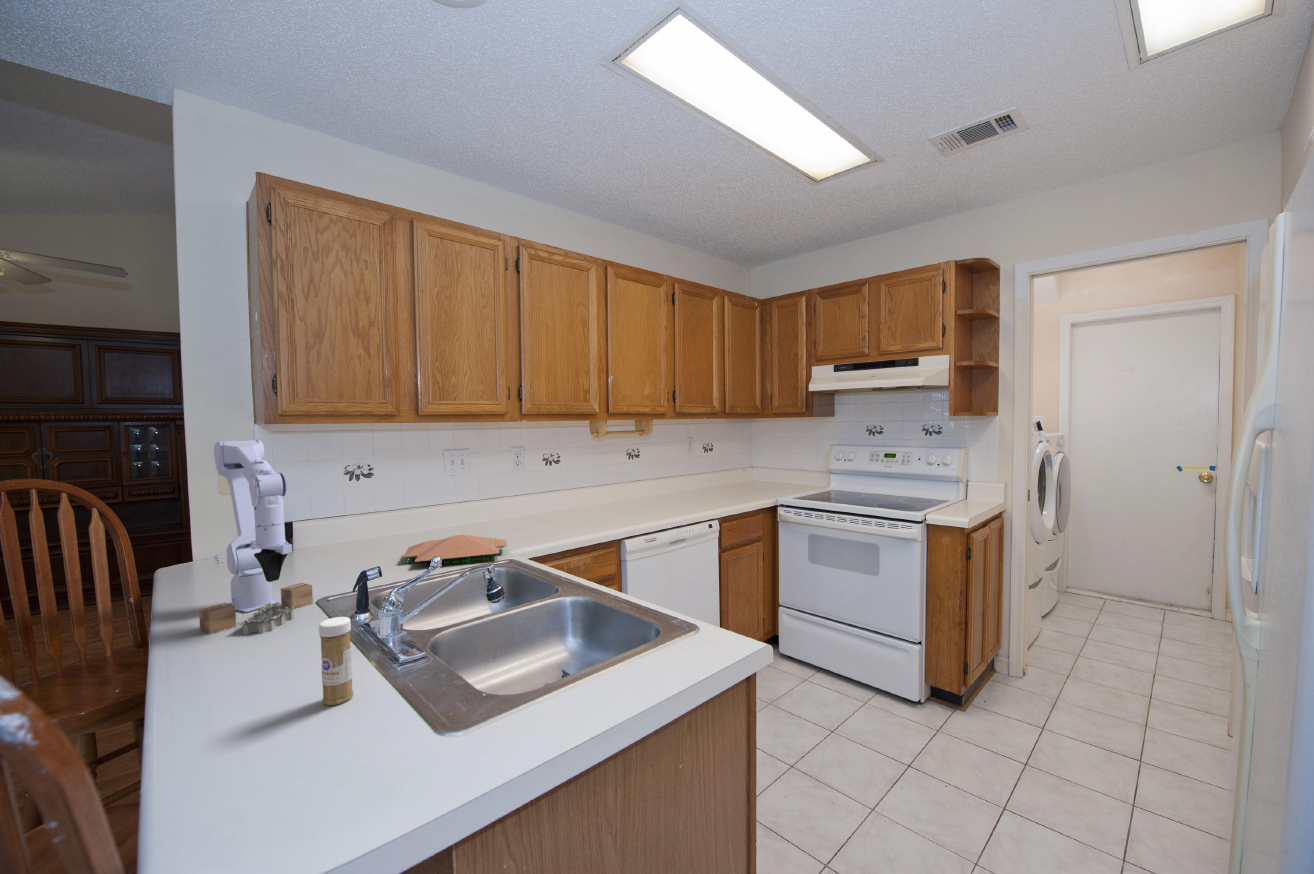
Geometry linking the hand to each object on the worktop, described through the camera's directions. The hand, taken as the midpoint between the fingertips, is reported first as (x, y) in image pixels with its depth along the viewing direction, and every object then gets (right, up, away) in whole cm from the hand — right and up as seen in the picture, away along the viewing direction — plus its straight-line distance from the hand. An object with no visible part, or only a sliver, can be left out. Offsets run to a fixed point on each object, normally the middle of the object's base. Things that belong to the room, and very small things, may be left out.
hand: (272, 580), depth 129 cm
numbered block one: (-1, -9, +11) cm, 14 cm away
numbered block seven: (-10, -10, -4) cm, 15 cm away
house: (+24, -8, +56) cm, 61 cm away
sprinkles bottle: (+38, -10, -38) cm, 55 cm away
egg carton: (+1, -10, -3) cm, 11 cm away
